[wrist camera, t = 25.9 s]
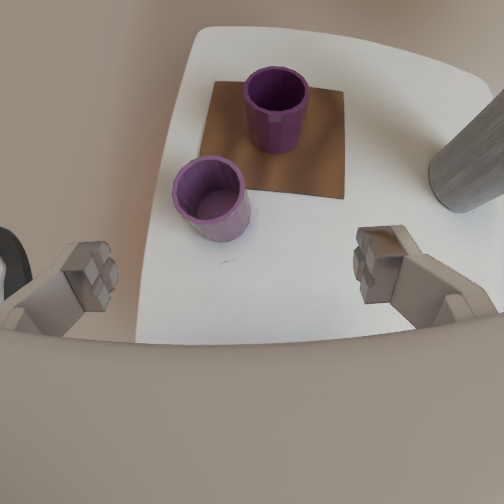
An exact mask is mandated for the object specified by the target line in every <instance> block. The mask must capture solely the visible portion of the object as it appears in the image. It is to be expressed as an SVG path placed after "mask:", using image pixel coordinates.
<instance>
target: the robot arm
mask: <svg viewBox="0 0 504 504" xmlns="http://www.w3.org/2000/svg"><path fill="white" fill-rule="evenodd" d="M356 240H357V243H358V245H359V246H358V247H357V248H356V249H355V250H354V256H353V269H354V274H355V277H356V279H357V280H358V281H360V282H361V285H360V291H361V294H362V297H363V300H364V303H365V304H374V303H388V302H390V304H391V305H392V306H393V307H394V308H395V309H396V310H397V311H398V312H399V313H401V314H402V315H403V316H404V317H405V318H406V319H407V320H408V321H409V322H410V323H411V324H412V325H413V326H414V327H415V328H416V329H415V330H408V331H401V332H394V333H387V334H379V335H371V336H363V337H354V338H344V339H333V340H321V341H307V342H291V343H271V344H241V345H170V344H142V343H123V342H109V341H96V340H83V339H73V338H65V337H62V336H63V335H64V334H65V333H66V332H67V331H68V330H69V329H70V328H71V327H72V326H73V325H74V324H75V323H76V322H77V321H78V319H79V318H80V317H81V316H82V315H83V314H84V313H85V312H105V311H106V308H107V306H108V304H109V301H110V299H111V296H110V292H112V291H113V290H114V289H115V288H116V286H117V283H118V276H119V273H118V268H117V265H116V263H115V261H114V260H113V259H111V258H110V253H111V250H110V247H109V245H108V243H106V242H105V241H96V242H81V243H80V242H77V243H70V244H67V246H66V247H65V249H64V250H63V251H62V253H61V254H60V255H59V257H58V258H57V259H56V261H55V263H54V264H53V265H52V267H51V268H50V269H49V271H45V272H44V273H42V274H41V275H39V276H38V277H36V278H35V279H34V280H32V281H31V282H29V283H28V284H26V285H25V286H24V287H22V288H21V289H20V290H18V291H17V292H15V293H14V294H13V295H11V296H10V297H9V298H7V299H6V300H5V301H4V279H5V274H6V264H5V262H4V261H3V259H2V257H1V256H0V504H504V312H503V313H498V311H497V310H496V308H495V306H494V305H493V303H492V301H491V300H490V298H489V297H488V295H487V293H486V292H485V290H484V289H483V288H482V287H480V286H478V285H477V284H475V283H474V282H472V281H471V280H469V279H468V278H466V277H464V276H463V275H461V274H459V273H458V272H456V271H455V270H453V269H451V268H450V267H448V266H446V265H445V264H443V263H441V262H440V261H438V260H436V259H435V258H433V257H431V256H430V255H428V254H423V253H422V252H421V250H420V249H419V247H418V246H417V244H416V242H415V241H414V239H413V238H412V236H411V235H410V234H409V232H408V231H407V229H406V228H405V226H403V225H392V226H377V227H360V228H358V231H357V235H356Z"/></svg>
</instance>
